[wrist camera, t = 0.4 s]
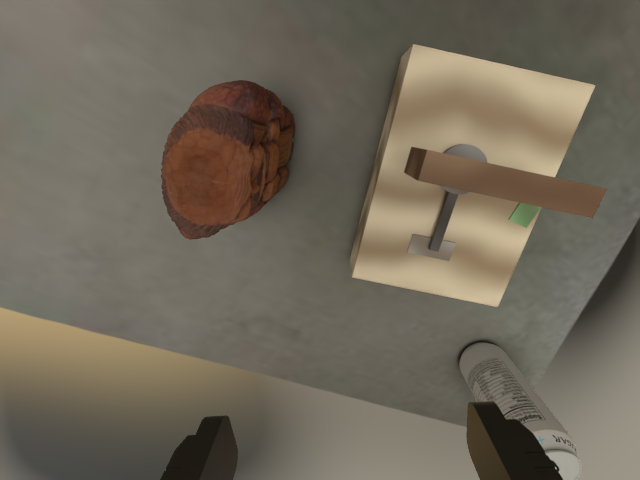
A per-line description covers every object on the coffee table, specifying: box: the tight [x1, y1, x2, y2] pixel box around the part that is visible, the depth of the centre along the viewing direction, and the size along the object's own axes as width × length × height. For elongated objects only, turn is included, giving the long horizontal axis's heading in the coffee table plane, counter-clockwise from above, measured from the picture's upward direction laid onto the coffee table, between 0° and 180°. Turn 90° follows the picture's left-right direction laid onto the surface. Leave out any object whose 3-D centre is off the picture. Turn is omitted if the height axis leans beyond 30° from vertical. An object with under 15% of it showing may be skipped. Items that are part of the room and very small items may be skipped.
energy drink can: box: [459, 342, 582, 480], centre depth 35 cm, size 6×6×15 cm
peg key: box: [404, 144, 607, 252], centre depth 26 cm, size 10×12×9 cm
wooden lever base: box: [350, 44, 595, 307], centre depth 33 cm, size 22×16×5 cm
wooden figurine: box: [161, 80, 295, 239], centre depth 27 cm, size 12×6×18 cm, turn 167°
